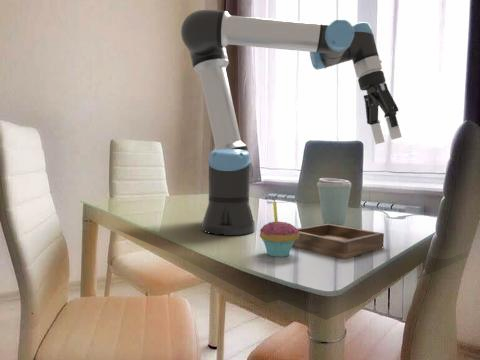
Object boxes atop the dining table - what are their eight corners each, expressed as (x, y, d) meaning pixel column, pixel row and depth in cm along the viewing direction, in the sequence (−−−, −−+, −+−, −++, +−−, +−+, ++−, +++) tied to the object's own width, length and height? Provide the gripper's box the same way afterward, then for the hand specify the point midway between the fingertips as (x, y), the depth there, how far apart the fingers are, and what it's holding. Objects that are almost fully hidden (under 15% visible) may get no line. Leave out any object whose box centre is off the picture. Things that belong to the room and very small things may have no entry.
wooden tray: (287, 244, 86) (287, 230, 86) (327, 236, 96) (327, 223, 96) (343, 259, 74) (344, 242, 74) (383, 248, 84) (383, 233, 84)
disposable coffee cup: (356, 226, 113) (358, 178, 112) (339, 230, 105) (340, 179, 105) (327, 221, 120) (328, 177, 120) (309, 225, 113) (310, 178, 112)
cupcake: (251, 252, 78) (252, 198, 78) (280, 247, 83) (281, 196, 83) (277, 261, 71) (278, 202, 71) (307, 255, 76) (308, 200, 76)
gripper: (397, 57, 97) (418, 132, 96) (369, 82, 121) (385, 142, 121) (370, 64, 97) (391, 139, 97) (347, 88, 122) (363, 147, 122)
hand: (387, 141), depth 109 cm, fingers open, 13 cm apart
